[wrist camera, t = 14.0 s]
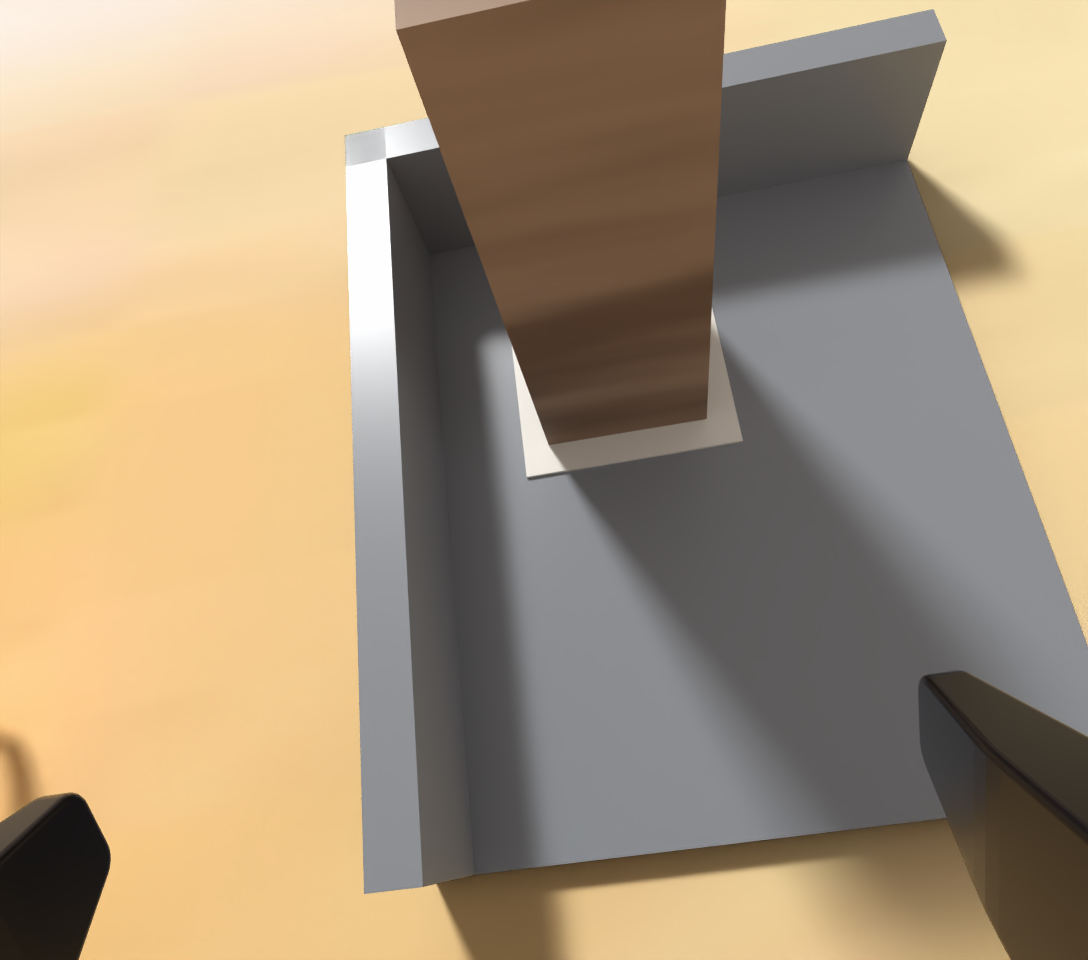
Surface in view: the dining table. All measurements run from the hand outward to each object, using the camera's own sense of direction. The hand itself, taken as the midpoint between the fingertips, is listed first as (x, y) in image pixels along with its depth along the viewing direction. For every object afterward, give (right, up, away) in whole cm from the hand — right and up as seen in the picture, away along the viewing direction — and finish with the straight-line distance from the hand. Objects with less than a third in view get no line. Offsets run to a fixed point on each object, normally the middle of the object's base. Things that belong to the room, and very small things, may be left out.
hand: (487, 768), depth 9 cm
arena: (+5, +3, +15) cm, 17 cm away
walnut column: (+3, +7, +16) cm, 18 cm away
